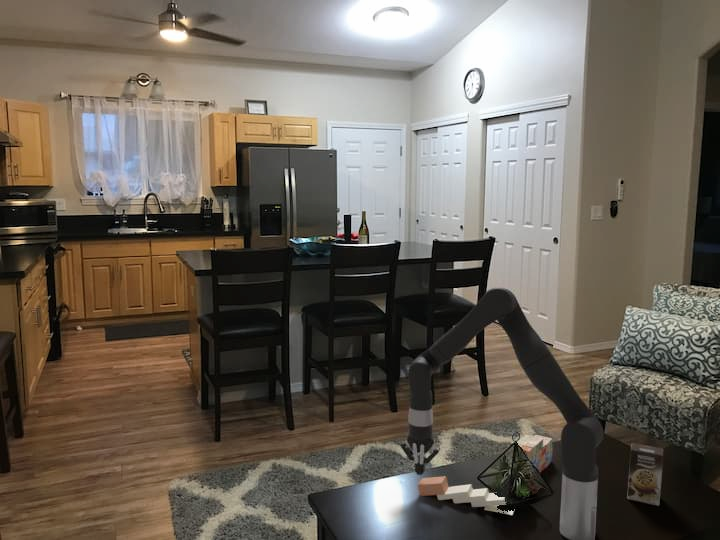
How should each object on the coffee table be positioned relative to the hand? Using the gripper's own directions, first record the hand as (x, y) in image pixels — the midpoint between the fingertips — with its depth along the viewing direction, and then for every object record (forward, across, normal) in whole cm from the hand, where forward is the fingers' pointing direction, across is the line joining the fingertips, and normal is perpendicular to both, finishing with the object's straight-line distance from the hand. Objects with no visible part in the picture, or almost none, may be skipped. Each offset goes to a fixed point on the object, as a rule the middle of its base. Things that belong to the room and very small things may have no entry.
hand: (419, 473), depth 183 cm
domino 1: (+4, 0, 0) cm, 4 cm away
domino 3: (+5, -12, 0) cm, 13 cm away
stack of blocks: (+6, -31, -28) cm, 42 cm away
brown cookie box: (+6, -65, -24) cm, 70 cm away
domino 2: (+5, -7, 0) cm, 8 cm away
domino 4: (+5, -17, 0) cm, 18 cm away
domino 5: (+7, -21, 0) cm, 22 cm away
